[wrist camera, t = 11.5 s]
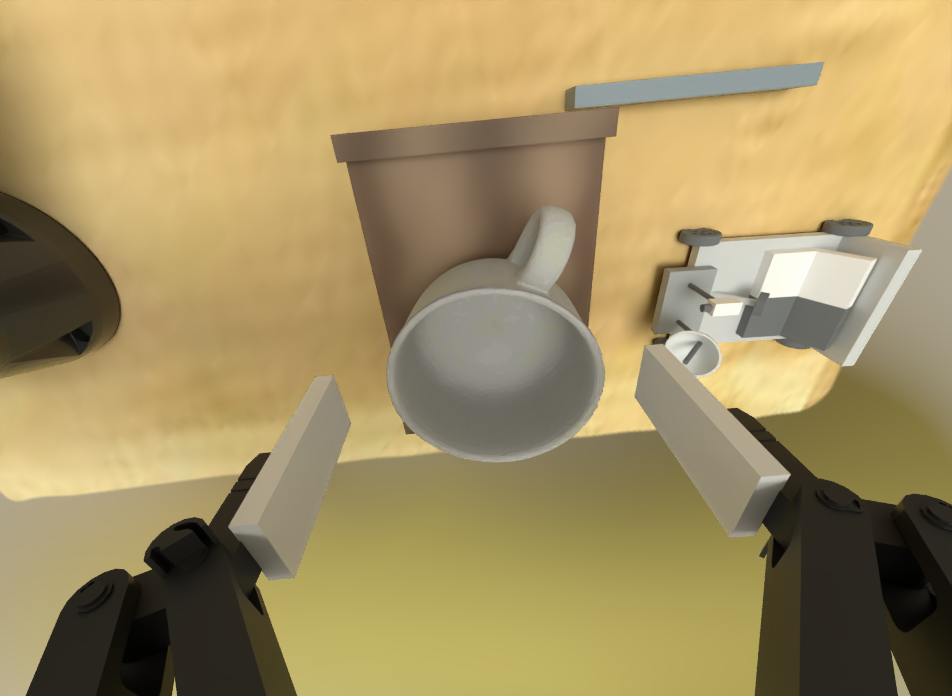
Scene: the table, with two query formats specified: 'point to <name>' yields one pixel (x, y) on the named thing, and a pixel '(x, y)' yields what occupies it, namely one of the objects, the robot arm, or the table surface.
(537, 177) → the walnut stand
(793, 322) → the toy rover
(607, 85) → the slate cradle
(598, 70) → the table surface
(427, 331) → the teacup
